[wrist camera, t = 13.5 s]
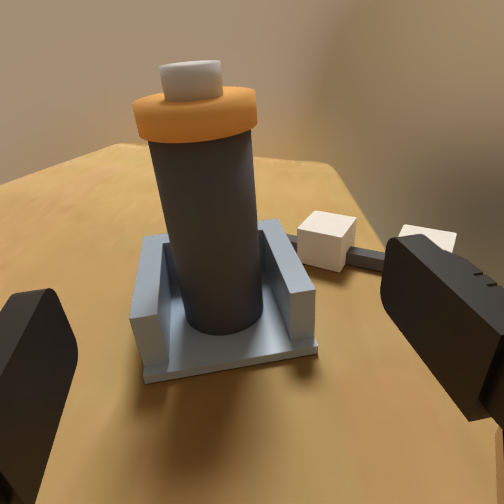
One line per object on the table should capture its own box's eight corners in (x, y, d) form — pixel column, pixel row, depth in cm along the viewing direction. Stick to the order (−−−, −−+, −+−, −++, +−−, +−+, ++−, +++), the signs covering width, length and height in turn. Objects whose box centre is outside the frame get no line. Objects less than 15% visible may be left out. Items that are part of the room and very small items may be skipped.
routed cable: (200, 269, 26) (195, 236, 24) (250, 227, 30) (248, 197, 29) (442, 340, 19) (453, 299, 17) (456, 271, 23) (466, 234, 22)
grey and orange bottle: (161, 322, 20) (95, 73, 14) (214, 274, 24) (181, 58, 18) (238, 352, 18) (202, 71, 12) (283, 294, 22) (275, 55, 15)
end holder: (317, 353, 18) (319, 297, 17) (145, 384, 17) (127, 328, 16) (279, 264, 25) (277, 218, 24) (155, 283, 25) (143, 236, 23)
